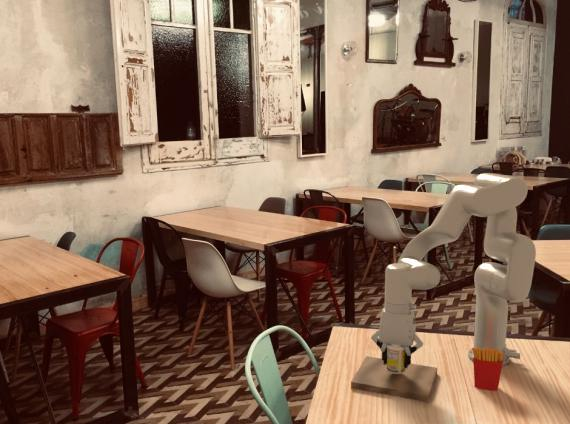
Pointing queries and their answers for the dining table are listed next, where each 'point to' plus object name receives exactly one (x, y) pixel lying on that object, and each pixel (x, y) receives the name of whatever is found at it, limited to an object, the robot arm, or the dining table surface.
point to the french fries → (487, 368)
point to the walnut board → (395, 380)
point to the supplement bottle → (396, 358)
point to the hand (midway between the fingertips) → (396, 363)
